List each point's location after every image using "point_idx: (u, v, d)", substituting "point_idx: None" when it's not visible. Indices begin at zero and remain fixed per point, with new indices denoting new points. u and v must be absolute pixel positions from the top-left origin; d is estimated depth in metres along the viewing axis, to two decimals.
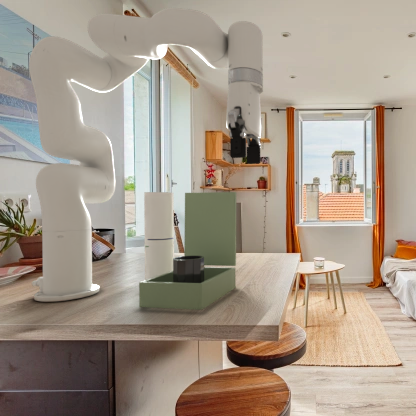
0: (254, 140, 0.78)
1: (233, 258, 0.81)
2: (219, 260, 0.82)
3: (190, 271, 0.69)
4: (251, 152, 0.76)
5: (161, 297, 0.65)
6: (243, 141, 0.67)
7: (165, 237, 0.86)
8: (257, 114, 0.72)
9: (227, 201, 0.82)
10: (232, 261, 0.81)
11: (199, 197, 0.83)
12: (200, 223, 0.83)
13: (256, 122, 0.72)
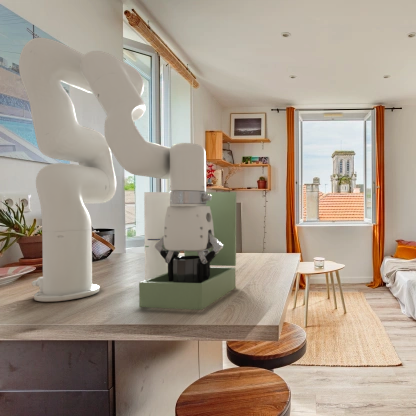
0: None
1: (233, 258, 0.81)
2: (219, 260, 0.82)
3: (190, 271, 0.69)
4: None
5: (161, 297, 0.65)
6: None
7: None
8: (185, 231, 0.70)
9: (227, 201, 0.82)
10: (232, 261, 0.81)
11: None
12: None
13: (183, 240, 0.70)
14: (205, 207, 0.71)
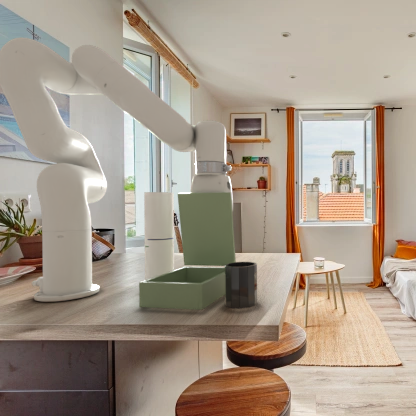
0: None
1: (232, 259, 0.81)
2: (219, 261, 0.82)
3: (245, 279, 0.65)
4: None
5: (161, 297, 0.65)
6: None
7: (165, 237, 0.86)
8: None
9: (222, 202, 0.79)
10: (232, 261, 0.81)
11: (193, 198, 0.80)
12: (196, 224, 0.81)
13: None
14: (226, 176, 0.82)
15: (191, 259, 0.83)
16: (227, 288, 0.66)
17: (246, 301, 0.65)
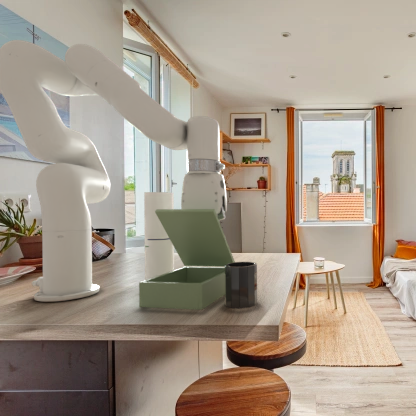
0: None
1: (231, 262, 0.80)
2: (218, 263, 0.81)
3: (245, 279, 0.65)
4: None
5: (161, 297, 0.65)
6: None
7: (165, 237, 0.86)
8: (201, 196, 0.77)
9: (207, 219, 0.71)
10: None
11: (173, 215, 0.72)
12: (185, 237, 0.76)
13: (199, 204, 0.77)
14: (219, 175, 0.78)
15: (190, 261, 0.82)
16: (227, 288, 0.66)
17: (246, 301, 0.65)
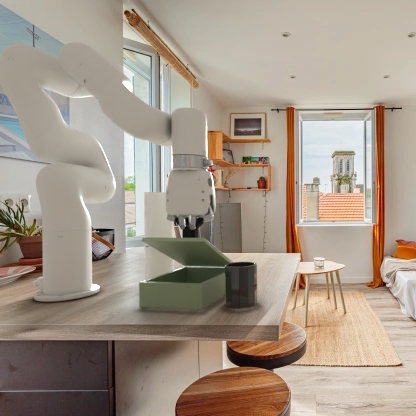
0: None
1: None
2: (217, 265, 0.81)
3: (245, 279, 0.65)
4: None
5: (161, 297, 0.65)
6: None
7: (165, 237, 0.86)
8: (187, 195, 0.71)
9: (199, 245, 0.67)
10: None
11: (162, 243, 0.67)
12: (180, 253, 0.73)
13: (185, 204, 0.71)
14: (207, 172, 0.72)
15: (189, 264, 0.82)
16: (227, 288, 0.66)
17: (246, 301, 0.65)
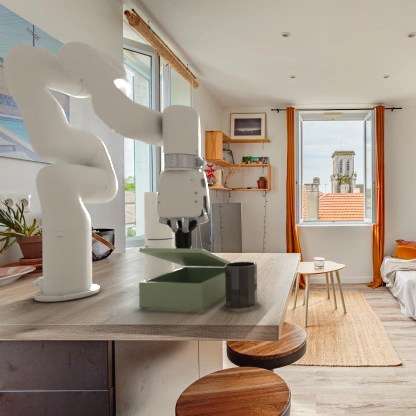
0: None
1: None
2: (217, 266, 0.81)
3: (245, 279, 0.65)
4: None
5: (161, 297, 0.65)
6: None
7: (165, 237, 0.86)
8: (179, 196, 0.67)
9: (197, 254, 0.67)
10: None
11: (160, 253, 0.67)
12: (178, 259, 0.73)
13: (177, 206, 0.67)
14: (200, 172, 0.68)
15: (189, 265, 0.82)
16: (227, 288, 0.66)
17: (246, 301, 0.65)
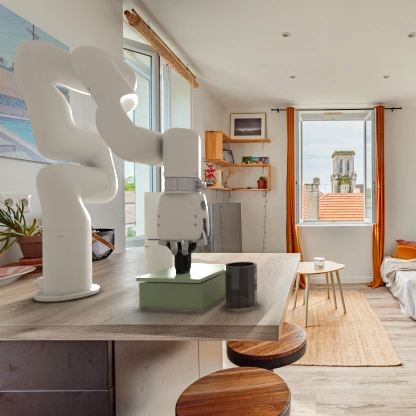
0: None
1: None
2: None
3: (245, 279, 0.65)
4: None
5: (161, 297, 0.65)
6: None
7: None
8: (178, 219, 0.67)
9: None
10: None
11: None
12: None
13: (176, 229, 0.67)
14: (199, 195, 0.69)
15: None
16: (227, 288, 0.66)
17: (246, 301, 0.65)
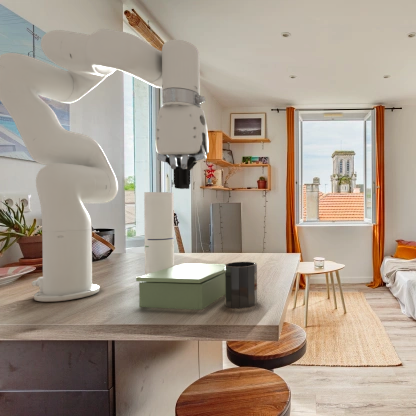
0: None
1: None
2: None
3: (245, 279, 0.65)
4: None
5: (161, 297, 0.65)
6: None
7: (165, 237, 0.86)
8: (178, 132, 0.67)
9: None
10: None
11: None
12: None
13: (176, 141, 0.67)
14: (199, 108, 0.68)
15: None
16: (227, 288, 0.66)
17: (246, 301, 0.65)
